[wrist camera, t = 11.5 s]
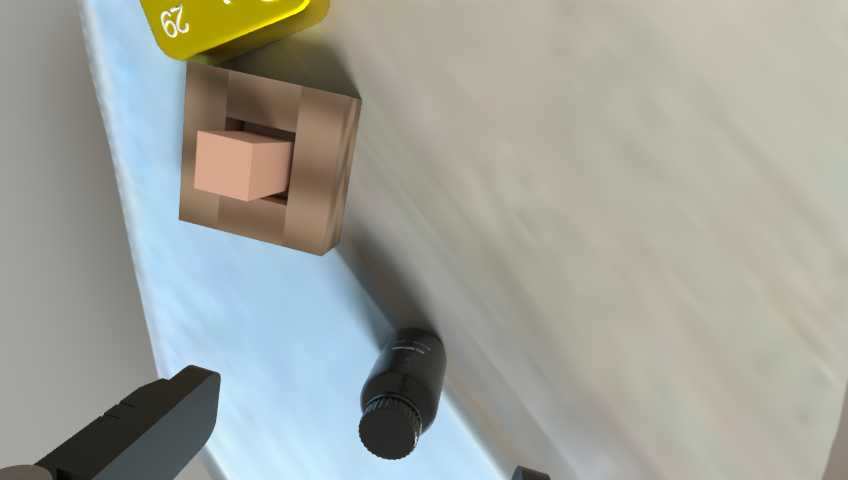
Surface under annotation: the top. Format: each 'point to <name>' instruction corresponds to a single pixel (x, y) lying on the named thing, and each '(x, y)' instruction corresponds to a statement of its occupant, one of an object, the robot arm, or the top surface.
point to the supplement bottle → (402, 393)
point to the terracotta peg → (243, 164)
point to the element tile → (226, 25)
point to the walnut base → (311, 168)
